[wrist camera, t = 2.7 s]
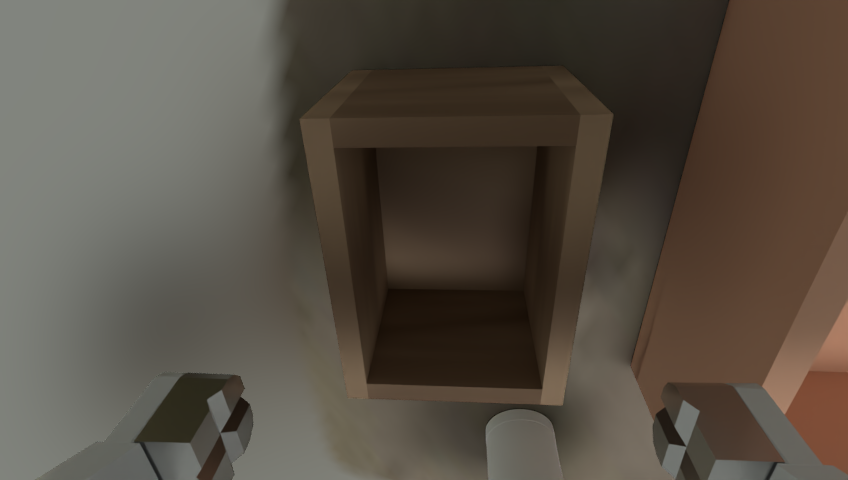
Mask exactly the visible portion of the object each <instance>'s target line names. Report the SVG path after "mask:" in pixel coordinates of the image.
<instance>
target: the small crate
mask: <svg viewBox="0 0 848 480" xmlns="http://www.w3.org/2000/svg"><path fill="white" fill-rule="evenodd" d="M613 115H614V114H613V113H612V112H611V111H610V110H609V109H608V108H607V107H606V106H605V105H603V104H602V103H601V102H600V101H599V100H598V99H597V98H596V97H595V96H594V95H593V94H592V93H591V92H590V91H589V90H588V89H587V88H586V87H585V86H584V85H583V84H582V83H581V82H580V81H579V80H578V79H576V78H575V77H574V76H573V75H572V74H571V73H570V72H569V71H568V70H567V69H566V68H565V67H564V66H519V67H476V68H432V69H389V70H352V71H351V72H350V73H349V74H347V75H346V76H345V77H344V78H343V79H342V80H341V81H340V82H339V83H338V84H337V85H336V86H334V87H333V88H332V89H331V90H330V91H329V92H328V93H327V94H326V95H325V96H324V97H323V98H321V99H320V100H319V101H318V102H317V103H316V104H315V105H314V106H313V107H312V108H311V109H310V110H308V111H307V112H306V113H305V114H304V115H303V116H302V117H301V118H300V119H299V120H300V126H301V131H302V137H303V143H304V149H305V154H306V160H307V166H308V172H309V177H310V183H311V189H312V195H313V200H314V206H315V212H316V218H317V223H318V229H319V235H320V241H321V246H322V252H323V258H324V264H325V270H326V275H327V281H328V287H329V293H330V298H331V304H332V310H333V316H334V321H335V327H336V333H337V339H338V344H339V350H340V356H341V362H342V367H343V373H344V379H345V385H346V390H347V396H348V398H364V399H393V400H422V401H450V402H479V403H508V404H537V405H563V400H564V394H565V388H566V383H567V377H568V371H569V365H570V360H571V354H572V348H573V343H574V337H575V331H576V326H577V320H578V314H579V309H580V303H581V297H582V292H583V286H584V280H585V275H586V269H587V263H588V257H589V252H590V246H591V240H592V235H593V229H594V223H595V218H596V212H597V206H598V201H599V195H600V189H601V184H602V178H603V172H604V166H605V161H606V155H607V149H608V144H609V138H610V132H611V127H612V121H613Z"/></svg>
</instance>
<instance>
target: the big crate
mask: <svg viewBox="0 0 848 480" xmlns="http://www.w3.org/2000/svg"><path fill="white" fill-rule="evenodd" d="M631 368H632V370H633V373H634V375H635V378H636V380H637V382H638V385H639V387H640V389H641V392H642V394H643V396H644V399H645V401H646V404H647V406H648V408H649V411H650V413H651V415H652V418H653V420H654V419H655V415H656V413H658V412H659V411H660V410H662V409H663V408H664V407H665V406H664V403H663V401H662V399H661V394H662V391H663V388H664V386H665V385H666V384H667V383H668V382H682V383H724V384H725V383H757V384H758V385H760V386H762V387H763V388H764V389H765V390H766V391H767V393H768V394H769V395H770V396H771V398H772V399H773V400H774V402H775V403H776V404H777V406H778V407H779V408H780V409H781V411H782V412H783V413H784V415H785V416H786V417H787V419H788V420H789V421H790V422H791V424H792V425H793V426H794V428H795V429H796V430H797V432H798V433H799V434H800V436H801V437H802V438H803V439H804V441H805V442H806V443H807V445H808V446H809V447H810V449H811V450H812V451H813V452H814V454H815V455H816V456H817V458H818V459H819V460H820V462H821V463H822V464H823V465H833V466H835V467H836V468H838V469H839V470H841V471H842V472H844V473H846V474H847V475H848V0H729V4H728V7H727V11H726V15H725V18H724V22H723V26H722V29H721V33H720V37H719V41H718V44H717V48H716V52H715V55H714V59H713V63H712V66H711V70H710V74H709V78H708V81H707V85H706V89H705V92H704V96H703V100H702V103H701V107H700V111H699V115H698V118H697V122H696V126H695V129H694V133H693V137H692V141H691V144H690V148H689V152H688V155H687V159H686V163H685V166H684V170H683V174H682V178H681V181H680V185H679V189H678V192H677V196H676V200H675V203H674V207H673V211H672V215H671V218H670V222H669V226H668V229H667V233H666V237H665V240H664V244H663V248H662V252H661V255H660V259H659V263H658V266H657V270H656V274H655V278H654V281H653V285H652V289H651V292H650V296H649V300H648V303H647V307H646V311H645V315H644V318H643V322H642V326H641V329H640V333H639V337H638V340H637V344H636V348H635V352H634V355H633V359H632V363H631Z"/></svg>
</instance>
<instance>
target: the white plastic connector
mask: <svg viewBox="0 0 848 480" xmlns="http://www.w3.org/2000/svg"><path fill="white" fill-rule="evenodd" d="M485 432H486V445H487V465H488V480H563V476H562V471H561V466H560V461H559V455H558V450H557V445H556V438H555V433H554V428H553V425H552V423H551V421H550V420H549V419H548V418H547V417H545V416H544V415H542V414H540V413H538V412H536V411H532V410H527V409H513V410H508V411H504V412H501V413H499V414H497V415H496V416H494V417H493V418H492V419H491V420H490V421H489V422H488V424H487V426H486V430H485Z"/></svg>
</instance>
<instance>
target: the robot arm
mask: <svg viewBox="0 0 848 480" xmlns="http://www.w3.org/2000/svg"><path fill="white" fill-rule="evenodd" d="M244 389H245V388H244V386H243V383H242V380H241V377H240V376H237V375H230V374H208V373H207V374H206V373H175V372H163V373H161V374H159V375H158V376H156V377H155V378H154V379H153V380H152V382H151V383H150V384H149V385H148V387H147V388H146V389H145V390H144V392H143V393H142V394H141V396H140V397H139V398H138V399H137V401H136V402H135V403H134V404H133V406H132V407H131V408H130V410H129V411H128V412H127V413H126V415H125V416H124V417H123V418H122V420H121V421H120V422H119V423H118V425H117V426H116V427H115V428H114V430H113V431H112V432H111V434H110V435H109V436H108V437H107V439H106V440H105V441H104V442H95V443H93V444H92V445H90V446H88V447H87V448H85V449H84V450H82V451H81V452H79V453H77V454H76V455H74V456H72V457H71V458H69V459H68V460H66V461H64V462H63V463H61V464H60V465H58V466H56V467H55V468H53V469H52V470H50V471H48V472H47V473H45V474H44V475H42V476H40V477H39V478H37V479H36V480H232V478H233V476H234V471H233V467H232V463H233V462H234V461H235V460H236V459H237V458H239V457H240V456H241V455H242V454H244V452H245V450H246V448H247V446H248V443H249V441H250V437H251V432H252V428H253V414H252V410H251V406H250V404H249V403H248V402H247V401H245V400H244V399H243V398H241V397H240V396H241V394H242V392H243V390H244ZM661 399H662V401H663V403H664V406H665V407H664V408H663V409H662V410H660V411H659V412H658V413H656V415H655V419H654V423H653V442H654V446H655V450H656V454H657V457H658V459H659V461H660V464H661V466H662V468H663V469H665V470H666V471H667V472H668V473H669V474H670V475H672V476H673V477H674V478H675V480H848V475H847V474H846V473H844V472H842V471H841V470H839V469H838V468H836V467H835V466H833V465H823V464H822V463H821V462H820V460H819V459H818V458H817V456H816V455H815V454H814V452H813V451H812V450H811V449H810V447H809V446H808V445H807V443H806V442H805V441H804V439H803V438H802V437H801V436H800V434H799V433H798V432H797V430H796V429H795V428H794V426H793V425H792V424H791V422H790V421H789V420H788V419H787V417H786V416H785V415H784V413H783V412H782V411H781V409H780V408H779V407H778V406H777V404H776V403H775V402H774V400H773V399H772V398H771V396H770V395H769V394H768V393H767V391H766V390H765V389H764V388H763V387H762V386H760V385H758V384H757V383H725V384H724V383H682V382H668V383H667V384H666V385H665V386H664V388H663V391H662V394H661Z"/></svg>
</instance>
